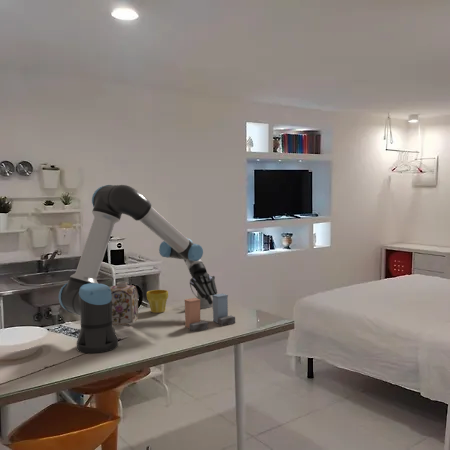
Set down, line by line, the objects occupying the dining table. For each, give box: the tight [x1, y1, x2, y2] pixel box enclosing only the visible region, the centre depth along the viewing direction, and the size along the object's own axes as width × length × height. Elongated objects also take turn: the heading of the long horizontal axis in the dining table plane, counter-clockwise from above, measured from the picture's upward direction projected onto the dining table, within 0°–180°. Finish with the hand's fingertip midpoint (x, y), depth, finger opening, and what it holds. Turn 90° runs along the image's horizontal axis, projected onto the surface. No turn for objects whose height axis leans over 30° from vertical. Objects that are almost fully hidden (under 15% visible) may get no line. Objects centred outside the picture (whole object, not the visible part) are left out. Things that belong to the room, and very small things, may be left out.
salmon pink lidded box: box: [184, 297, 201, 330], centre depth 200 cm, size 5×4×12 cm
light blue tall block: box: [212, 292, 229, 324], centre depth 208 cm, size 5×4×12 cm
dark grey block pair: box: [189, 315, 236, 333], centre depth 205 cm, size 26×14×4 cm, turn 125°
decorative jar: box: [109, 281, 139, 326], centre depth 214 cm, size 12×12×18 cm
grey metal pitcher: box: [189, 275, 212, 309], centre depth 242 cm, size 9×14×15 cm, turn 53°
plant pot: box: [146, 289, 169, 314], centre depth 232 cm, size 10×10×10 cm
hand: (216, 309), depth 211 cm, fingers closed
